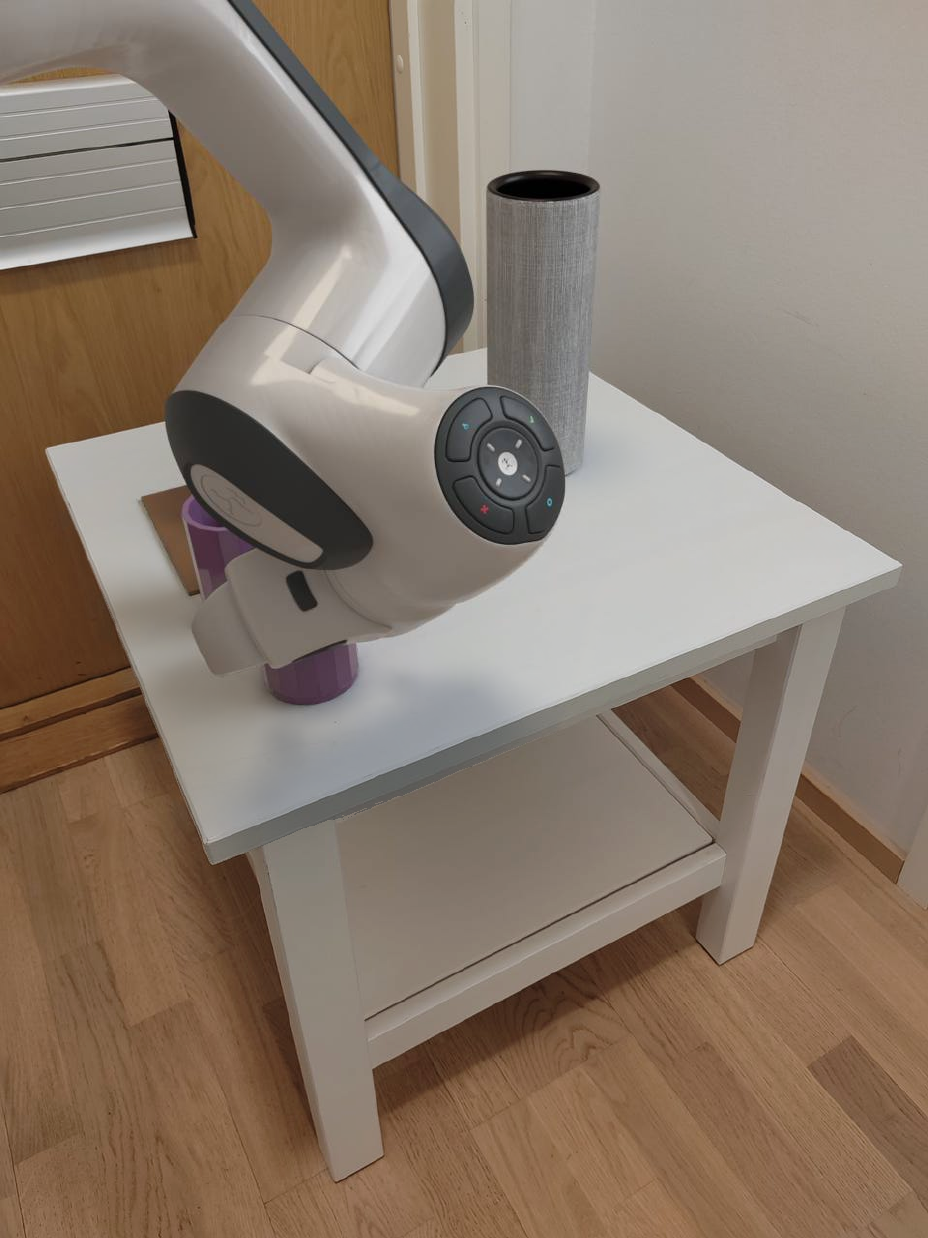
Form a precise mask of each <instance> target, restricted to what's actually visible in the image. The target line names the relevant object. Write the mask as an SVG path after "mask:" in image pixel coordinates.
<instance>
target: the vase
mask: <svg viewBox="0 0 928 1238" xmlns="http://www.w3.org/2000/svg"><path fill="white" fill-rule="evenodd" d="M485 190H486V191H485V204H486V205H485V211H486V212H485V215H486V216H485V219H486V220H485V221H486V223H485V225H486V226H485V228H486V230H485V231H486V232H485V233H486V235H485V236H486V241H485V242H486V243H485V244H486V378H487V379H486V385H495V386H500V387H504V388H507V389H510V390H512V391H514V392H516V393H518V394H520V395H522V396H523V397H525V398H526V399H527V400H529V401H530V402H531V403H532V404H533V405H535V406H536V407H537V408H538V409H539V411H540V412H541V413H542V414H543V415H544V417H545V418H546V419H547V421H548V422H549V424H550V426H551V427H552V429H553V431H554V433H555V435H556V438H557V440H558V443H559V446H560V449H561V452H562V456H563V462H564V468H565V476H567V475H569V474H571V473H573V472H575V471H576V470H577V469H578V468H579V467H580V466H581V464H582V462H583V458H584V451H585V439H586V424H587V423H586V422H587V408H588V391H589V377H590V376H589V375H590V361H591V345H592V333H593V332H592V330H593V317H594V316H593V315H594V301H595V284H596V269H597V253H598V241H599V240H598V238H599V225H600V223H599V222H600V207H601V191H602V188H601V184H600V182H599V181H597V180H596V179H595V178H593V177H591V176H589V175H586V174H584V173H583V174H582V173H579V172H575V171H567V170H557V169H556V170H555V169H534V170H533V169H532V170H522V171H515V172H510V173H509V172H508V173H505V174H502V175H499V176H497V177H495V178H493V179H492V180H490V181H489V182H488V184H487V185H486V188H485Z"/></svg>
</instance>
